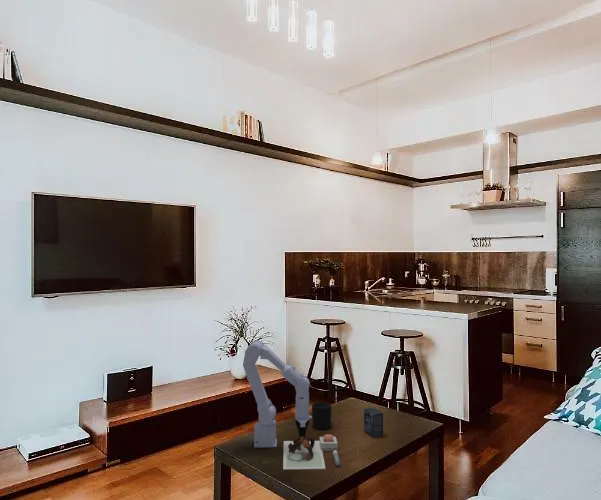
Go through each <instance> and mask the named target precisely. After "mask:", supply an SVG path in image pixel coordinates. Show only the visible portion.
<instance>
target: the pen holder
mask: <svg viewBox="0 0 601 500" xmlns="http://www.w3.org/2000/svg"><path fill="white" fill-rule="evenodd" d="M311 416H312V420H311V422H312V427H313V428H314V429H317V430H327V429H328V430H329V428H331V424H332V405H331V404H330V403H328V402H324V401H319V402H318V401H317V402H313V404H311Z"/></svg>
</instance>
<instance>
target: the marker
mask: <svg viewBox="0 0 601 500" xmlns="http://www.w3.org/2000/svg"><path fill="white" fill-rule="evenodd" d="M338 453H339V452H338V450H334V451H332V454H333V455H332V456H333V459H334V463H335V466H336V467H340V466H341V461H340V458H339V454H338Z"/></svg>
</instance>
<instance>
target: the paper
mask: <svg viewBox="0 0 601 500" xmlns="http://www.w3.org/2000/svg"><path fill="white" fill-rule="evenodd" d="M293 441H294V440H284V441H283V456H282V457H283V463H282V467H283V468H282V469H283V470H284V471H285V470H287V471H288V470H289V471H290V470H293V471H295V470H299V471H301V470H326V465H325V459H324V453H323V451H322V450H321V447H320V440H314V441H315V444H314V447H313V448H312V451H313V455H314V456H313V457H312V458H311V459H310V460H309V461H308V460H307V457H306V455H307V454H308V453H309V451H308V450H307V448H305V447H304V446H303V445H302V444H301V450H296V451H295V452H294V454H293V453H292V452H291V453H289V448H288V445H289V444H290V443H292V445H293V444H294V443H293ZM309 443H310V444H311V441H310V442H309Z"/></svg>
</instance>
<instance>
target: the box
mask: <svg viewBox="0 0 601 500" xmlns="http://www.w3.org/2000/svg"><path fill="white" fill-rule="evenodd" d="M363 432H365V433H366V434H368V435H369V436H371V437H372V438H378V437H379V438H380V437H383V436H384V412H383V411H380V410H379V409H377V408H375V407H367V408H364V409H363Z"/></svg>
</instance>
